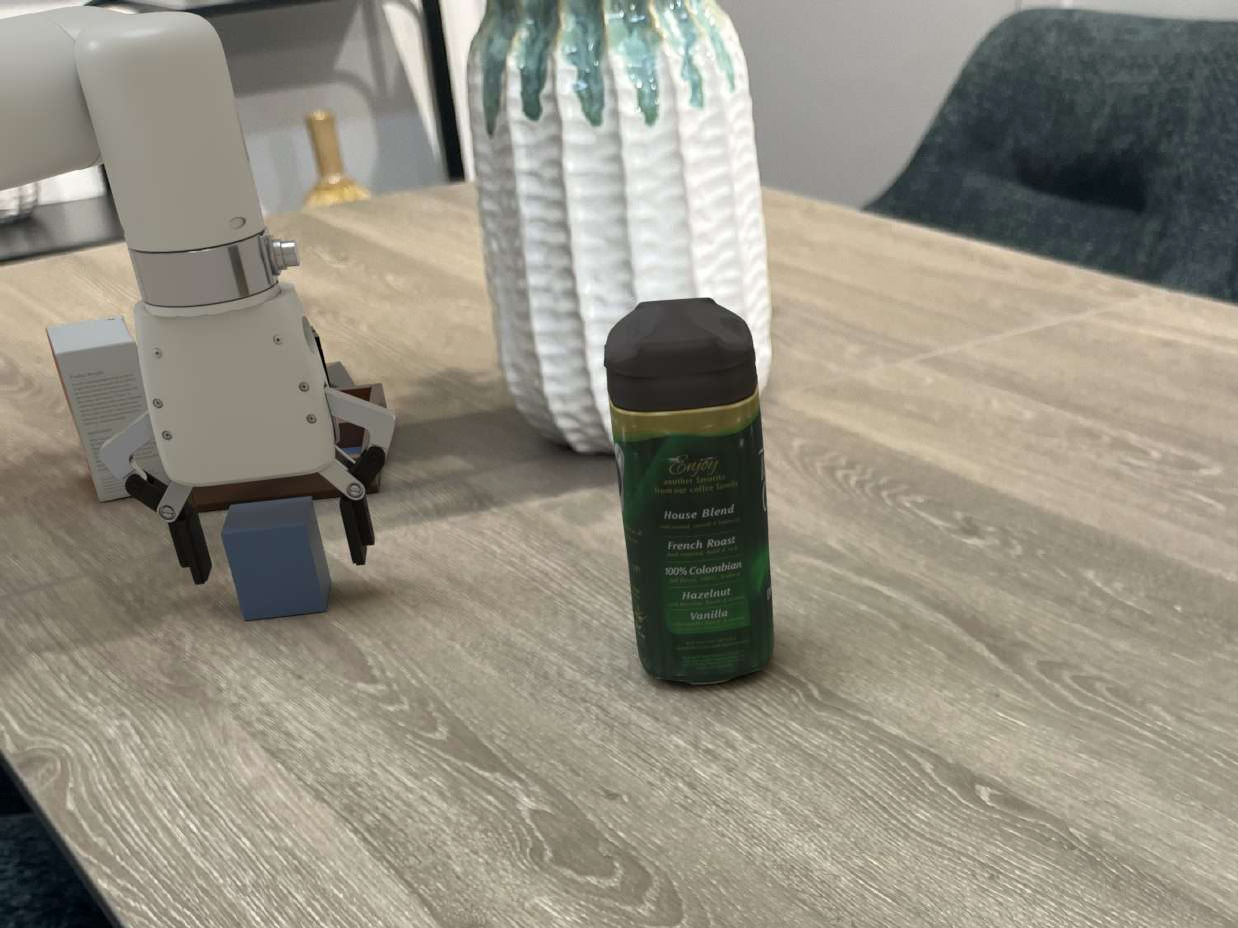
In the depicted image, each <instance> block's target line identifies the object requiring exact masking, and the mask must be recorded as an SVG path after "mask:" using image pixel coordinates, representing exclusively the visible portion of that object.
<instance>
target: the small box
mask: <svg viewBox="0 0 1238 928" xmlns="http://www.w3.org/2000/svg"><path fill="white" fill-rule="evenodd" d="M44 330H45V333H46V336H47V340H48V342H49V348H50V351H51V355H52V358H53V362H54V364H55V368H56V371H57V374H58V378H59V380H60V384H61V387H62V390H63V394H64V397H65V400H66V403H67V406H68V410H69V413H70V415H71V419H72V422H73V425H74V428H75V431H76V434H77V436H78V440H79V443H80V446H81V449H82V453H83V455H84V460H85V462H86V465H87V468H88V471H89V474H90V476H91V479H92V483H93V485H94V489H95V491H96V494H97V497H98V500H99V502H101V503H104V502H109V501H113V500H119V499H122V498H128V497H132V496H131V495H130V494H128V493H127V491H126V489H125V486H124V485H123V484H122V483H121V482H120V481H118V480H117V478H116V477H115V476H114V475H113V474H112V473H111V472H110V471H109V470H108V468H107V467H106V466H105V465H104V464H103V463H102V462H101V460H100V459H99V456H98V453H99V450H100V448H101V446H102V445H103V443H104V442H106V441H107V440H108V439H110V438H111V437H112V436H114V435H115V434H116V433H118V432H119V431H120V430H122V429H123V428H124V427H126V426H127V425H128V424H130V423H131V422H132V421H134V420H135V419H136V418H138V417H139V416H140V415H142V414H143V413H144V412H146V411H147V410H149V409H148V405H147V400H146V395H145V389H144V384H143V379H142V374H141V368H140V362H139V356H138V349H137V341H136V340H135V338H134V337H133V336H132V334H131V332H130V330H129V328H128V325H127V323H126V321H125V317H124V316H123V315H116V316H107V317H102V318H95V319H89V320H83V321H76V322H70V323H64V324H56V325H50V326H46V327H45V329H44ZM132 456H133V458H134V460H135V461H136V462H137V463H138V466H139V467H140V468H141V469H143V470H145V471H146V472H148V473H149V474H151V475H152V476H154V477H155V478H157V479H158V480H160V481H161V482H163V483H164V484H166V485H168V483H169V481H170V480H171V479H170V478H169V477H168V475H167V473H166V472H165V469H164V467H163V464H162V461H161V458H160V455H159V452H158V448H157V444H156V440H155V438H153V439H152V440H150V441H149V442H148V443H146V444H145V445H144V446H142V447H141V448H140V449H138V450H137V451H136V452H134V453H133V454H132Z"/></svg>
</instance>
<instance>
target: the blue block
mask: <svg viewBox="0 0 1238 928" xmlns="http://www.w3.org/2000/svg"><path fill="white" fill-rule="evenodd" d="M317 518H318V517H317V513H316V510H315V505H314V501H313V499H312V497H311V496H308V497H299V498H290V499H281V500H272V501H263V502H254V503H245V504H236V505H230V508H229V509H228V510H227V514H226V517H225V520H224V523H223V527H222V529H221V532H220V537H221V541H222V545H223V548H224V552H225V555H226V559H227V563H228V566H229V570H230V575H231V578H232V581H233V585H234V589H235V593H236V595H237V600H238V603H239V607H240V610H241V614H242V618H243V621H245V622H246V621H247V622H248V621H254V620H255V621H256V620H263V619H272V618H281V617H288V616H297V615H306V614H315V613H323V612H324V613H325V612H327V606H328V601H329V595H330V591H331V585H332V584H331V583H332V578H331V572H330V569H329V565H328V561H327V557H326V553H325V547H324V543H323V539H322V535H321V530H320V526H319V523H318V519H317Z"/></svg>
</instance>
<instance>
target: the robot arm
mask: <svg viewBox="0 0 1238 928" xmlns="http://www.w3.org/2000/svg"><path fill="white" fill-rule="evenodd" d="M239 113H240V112H239V109H238V105H237V100H236V97H235V92H234V88H233V84H232V80H231V75H230V71H229V67H228V62H227V58H226V54H225V49H224V47H223V43H222V41H221V38H220V36H219V33H218V32H217V30H216V29H215V27H214V26H213V25H212V24H211V22H209V21H208V20H207V19H205V18H204V17H202V16H201V15H199V14H196V13H192V12H189V11H188V12H186V11H153V12H142V13H133V14H129V13H125V12H121V11H118V10H113V9H110V8H107V7H106V8H105V7H100V6H95V5H94V6H93V5H72V6H64V7H58V8H53V9H47V10H43V11H38V12H32V13H31V12H29V13H23V14H18V15H14V16H9V17H4V18H3V17H2V18H0V192H1V191H6V190H11V189H15V188H19V187H23V186H26V185H29V184H33V183H36V182H39V181H43V180H47V179H50V178H55V177H57V176H61V175H64V174H68V173H71V172H75V171H82V170H85V169H90V168H94V167H97V166H101V165H104V169H105V172H106V176H107V179H108V183H109V187H110V190H111V194H112V198H113V201H114V205H115V208H116V212H117V215H118V219H119V222H120V225H121V228H122V233H123V237H124V241H125V242H126V246H127V251H128V255H129V259H130V261H131V265H132V268H133V272H134V276H135V279H136V283H137V286H138V290H139V293H140V298H141V299H140V300H138V301H137V302H135V304H134V307H133V319H134V320H133V321H134V332H135V339H136V340H135V342H136V344H137V349H138V356H139V362H140V368H141V374H142V379H143V384H144V389H145V395H146V400H147V405H148V409H149V410H147V411H146V412H144V413H143V414H142V415H140V416H139V417H138V418H136V419H135V420H134V421H132V422H131V423H130V424H128V425H127V426H126V427H124V428H123V429H122V430H120V431H119V432H118V433H116V434H115V435H114V436H112V437H111V438H110V439H108V440H107V441H106V442H104V443H103V445H102V446H101V448H100V450H99V453H98V456H99V459H100V460H101V462H102V463H103V464H104V465H105V466H106V467H107V468H108V470H109V471H110V472H111V473H112V474H113V475H114V476H115V477H116V478H117V480H118V481H120V482H121V483H122V484H123V485H124V486H125V489H126V491H127V493H128V494H130V495H131V496H130V497H132V498H134V499H135V500H137V501H138V502H139V503H141V504H143V505H144V506H145V507H147V508H149V509H150V510H152V511H154V512H155V513H156V514H157V516H158V518H159V519H160V520H161V521H163V522H165V523H167V526H168V530H169V533H170V537H171V539H172V543H173V546H174V550H175V553H176V556H177V560H178V563H179V565H180V567H181V569H187V568H189V571H190V574H191V577H192V580H193V584H194V585H195V586H200V585H201V586H202V585H205V583H206V582H208V580H209V577H210V574H211V571H212V569H213V562H212V558H211V555H210V551H209V547H208V544H207V540H206V536H205V534H204V530H203V527H202V523H201V519H200V516H199V512H197V509H196V507H194V508H193V505H192V504H189V502H188V499H187V498H188V496H189V494H190V492H191V490H192V488H193V487H202V486H214V485H223V484H232V483H241V482H249V481H258V480H266V479H275V478H283V477H291V476H299V475H306V474H311V473H315V472H318V473H319V474H320V475H322V476H323V477H324V478H325V479H327V480H328V481H329V482H330V483H331V484H333V485H334V486H335V487H336V488H337V489H339V490H340V491H341V496H339V503H338V505H339V511H340V515H341V520H342V524H343V528H344V529H343V530H344V532H345V537H346V541H347V546H348V550H349V554H350V558H351V562H352V564H353V565H354V564H355V565H356V567H358V566H364V565H365V566H366V562H367V561H366V560H367V554H368V547H370V546H375V544H376V543H375V542H376V538H375V532H374V527H373V526H374V525H373V521H372V518H371V517H372V516H371V514H370V513H371V512H370V509H369V503H368V500H367V499H368V498H367V495H366V493H365V491H366V490H367V488H368V487H369V486H370V484H371V483H372V481H373V480H374V479H375V477H376V476H377V474H378V473H379V472H380V470H381V471H382V468H384V466H385V464H386V459H387V457H388V456H387V455H388V453H389V449H390V447H391V443H392V439H393V436H394V432H395V429H396V423H397V416H396V414H395V412H394V411H393V410H391V409H389V408H388V407H387V408H384V407H381V406H378V405H376V404H373V403H370V402H368V401H365V400H362V399H360V398H357V397H354V396H351V395H349V394H346V393H343V392H341V391H338V390H335V389H333V388H330V387H329V385H328V381H327V378H326V374H325V371H324V367H323V364H322V361H321V357H320V354H319V351H318V347H317V344H316V341H315V338H314V335H313V332H312V329H311V326H312V325H311V323H310V321H309V318H308V316H307V313H306V311H305V308H304V305H303V303H302V301H301V298H300V296H299V294H298V291H297V289H296V287H295V286H294V284H293V283H291V282H287V281H279V276H281V274H282V271H287V270H288V268H289V267H291V268H292V267H299V266H301V257H300V252H299V248H298V244H297V241H296V240H295V239H290V240H283V239H282V238H275V236H274V234H270V230H269V227H268V225H266V224H265V219H264V215H263V211H262V207H261V203H260V198H259V194H258V189H257V185H256V182H255V178H254V172H253V168H252V165H251V160H250V157H249V156H250V155H249V153H248V148H247V143H246V139H245V135H244V131H243V126H242V122H241V118H240V114H239ZM337 418H338V419H341V420H344V421H346V422H349V423H352V424H355V425H357V426H360V427H363V428H365V429H367V431H368V432H369V434H370V437H369V441H368V444H367V446H366V448H365V449H364V451H363V452H362V453H361V455H360V456H359V458H358V459H357V461H356V462H355V461H354V460H353V459H352V458H351V457H349V456H348V455H347V454H346V453H345V452H343V451H342V450H341V449H340V448H339V447H338V446H336V444H337V443H338V442H339V441H340V432H339V426H338V420H337ZM153 438H155V440H156V444H157V448H158V452H159V455H160V458H161V461H162V464H163V467H164V469H165V472H166V473H167V475H168V477H169V478H170V479H171V480H170V481H169V483H168V485H166V484H164V483H163V482H161V481H160V480H158V479H157V478H155V477H154V476H152V475H151V474H149V473H148V472H146V471H145V470H143V469H141V468H140V467H139V466H138V463H137V462H136V461H135V460H134V458H133V456H132V454H133V453H134V452H136V451H137V450H138V449H140V448H141V447H142V446H144V445H145V444H146V443H148V442H149V441H150V440H152V439H153Z"/></svg>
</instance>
